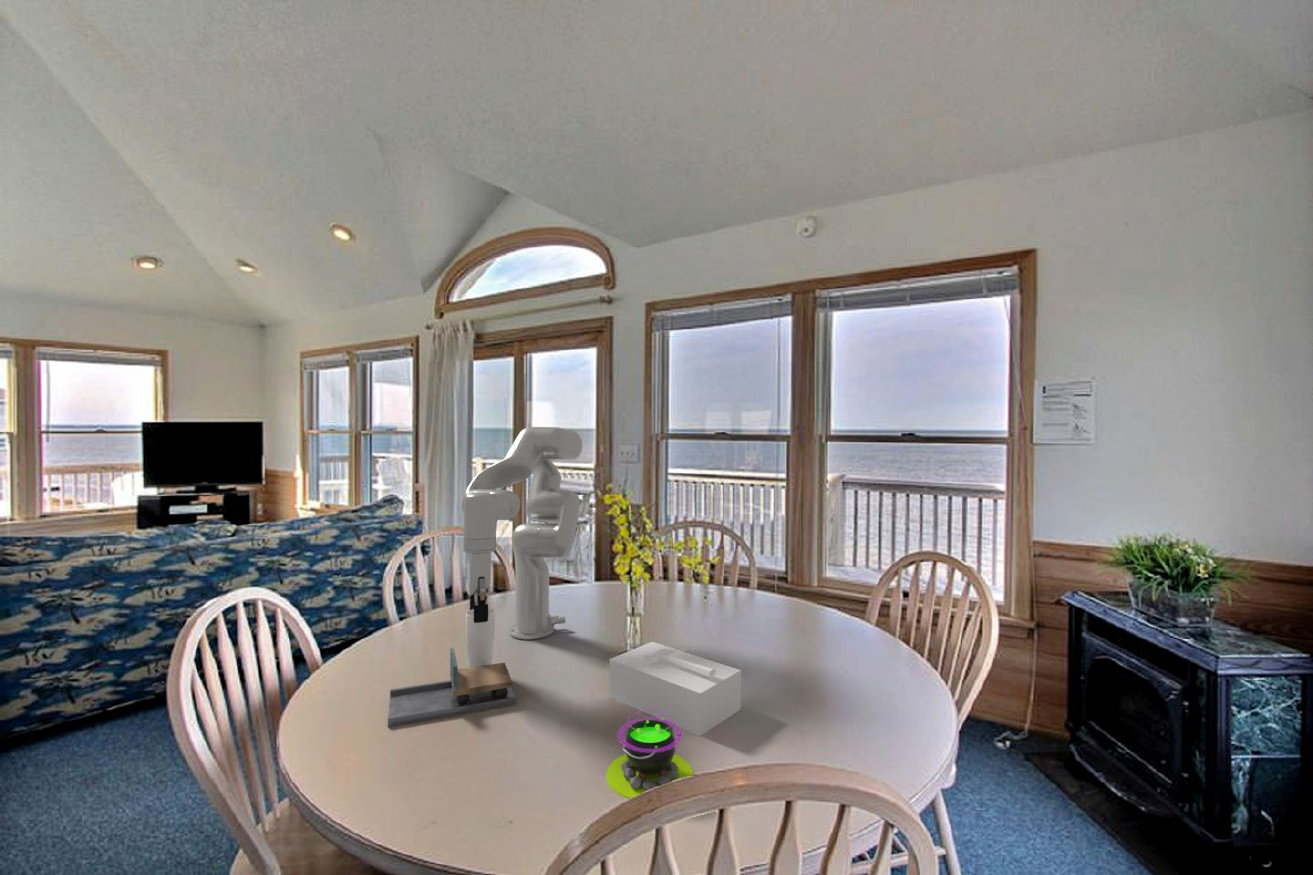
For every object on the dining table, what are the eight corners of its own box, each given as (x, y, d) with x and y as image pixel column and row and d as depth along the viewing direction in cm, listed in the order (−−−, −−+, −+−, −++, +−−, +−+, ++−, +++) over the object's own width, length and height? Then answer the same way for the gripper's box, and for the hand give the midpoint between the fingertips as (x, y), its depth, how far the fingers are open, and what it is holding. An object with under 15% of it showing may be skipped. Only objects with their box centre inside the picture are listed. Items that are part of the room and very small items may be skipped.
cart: (504, 677, 137) (504, 641, 137) (512, 697, 127) (512, 658, 126) (450, 686, 132) (450, 648, 132) (453, 707, 122) (453, 666, 122)
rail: (506, 678, 138) (506, 671, 138) (516, 704, 125) (516, 697, 125) (390, 696, 129) (390, 689, 129) (387, 726, 116) (387, 718, 116)
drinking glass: (498, 668, 144) (498, 608, 144) (488, 680, 137) (488, 617, 137) (472, 667, 145) (472, 607, 144) (460, 679, 138) (460, 615, 138)
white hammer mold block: (652, 677, 140) (652, 631, 140) (740, 710, 124) (741, 659, 124) (609, 697, 130) (609, 648, 129) (700, 737, 113) (700, 681, 113)
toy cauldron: (600, 756, 106) (600, 696, 106) (680, 746, 110) (680, 688, 110) (613, 808, 92) (614, 739, 92) (705, 795, 95) (705, 728, 95)
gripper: (460, 539, 147) (459, 608, 147) (466, 551, 131) (465, 628, 131) (491, 538, 150) (490, 605, 149) (500, 549, 134) (499, 625, 133)
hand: (478, 616), depth 140 cm, fingers open, 9 cm apart
